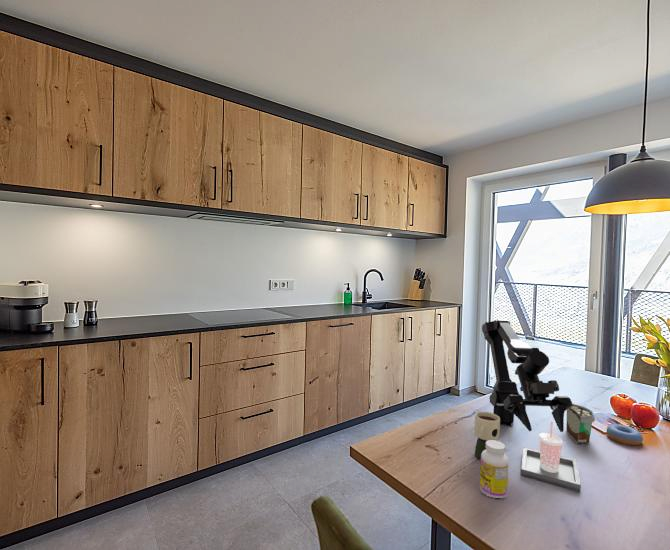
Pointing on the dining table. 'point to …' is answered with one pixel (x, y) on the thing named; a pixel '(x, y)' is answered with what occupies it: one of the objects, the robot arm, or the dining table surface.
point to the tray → (562, 478)
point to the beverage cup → (550, 451)
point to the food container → (579, 423)
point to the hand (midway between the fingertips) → (546, 431)
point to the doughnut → (624, 434)
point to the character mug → (485, 430)
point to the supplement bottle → (494, 470)
